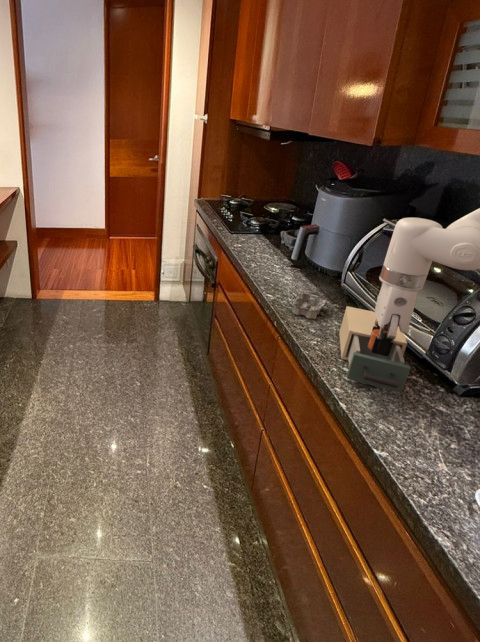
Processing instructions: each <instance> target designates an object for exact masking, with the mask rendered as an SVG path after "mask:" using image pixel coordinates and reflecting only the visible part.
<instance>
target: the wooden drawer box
mask: <svg viewBox="0 0 480 642" xmlns="http://www.w3.org/2000/svg"><path fill="white" fill-rule="evenodd" d="M376 318H377V317H376V313H375V311H372V310H369V309H368V310H367V309H362V308H358V307H353V306H348V305H346V307H345V311H344V315H343V317H342V320H341V325H340V329H339V346H340V347H339V348H340V357H341V358H340V359H341V360H345V361H348V351H347V350H348V346H349V343H350V339H351V336H352V334H356V335H361V336H365V337H369V338H370V335H371V332H372V329H373V326H375V321H376ZM376 327H377V326H376ZM406 338H407V337H406V336H405V333H402V332H400V329H399V326H398V328H397V333H396V338H395V339H394V342H393V343H396V344H399V345H400V348H401V352H402V355H403V356H404V354H405V352H406V348H407V345H408V342H407V339H406Z"/></svg>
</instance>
